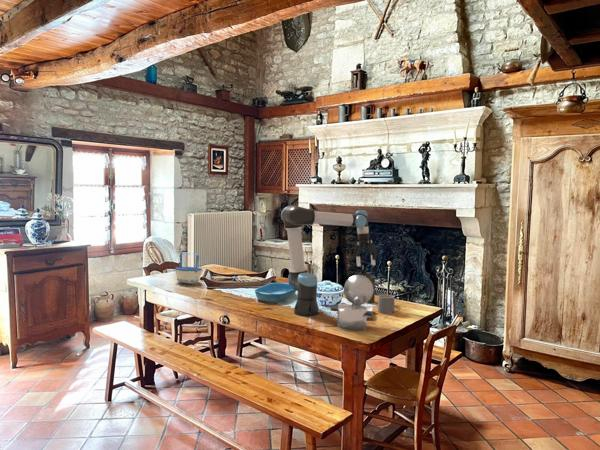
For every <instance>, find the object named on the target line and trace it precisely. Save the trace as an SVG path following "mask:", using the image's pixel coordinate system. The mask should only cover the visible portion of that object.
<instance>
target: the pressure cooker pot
mask: <svg viewBox="0 0 600 450" xmlns="http://www.w3.org/2000/svg"><path fill="white" fill-rule="evenodd" d="M363 306H364V305H362V306H359V305H352V304H350V305H341V306H339V305H338V306H336V305H333V306H332V307H330V311H332V312H337V311H338V314H336V315H337V317H336V319H337V320H336V326H337V328H338V329H341V330H345V331H349V332H350V331H351V332H353V331H354V332H358V331H364V330H365V329H367V323H368V322H367V320H368V318H367V316H372V317H373V316H374V315H375V310H372V311H367V308H365V307H363Z"/></svg>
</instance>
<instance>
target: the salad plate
mask: <svg viewBox="0 0 600 450" xmlns="http://www.w3.org/2000/svg"><path fill="white" fill-rule="evenodd" d="M341 305H351V304H347V303H346V304H345V303H339V304H338V306H341ZM361 306H363V307H365V308H367V311H373V310H374V309H373V306H369V305H363V304H362V305H361ZM336 315H338V311H336ZM372 317H373V316H367V319H371V318H372Z"/></svg>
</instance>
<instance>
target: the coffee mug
mask: <svg viewBox="0 0 600 450" xmlns="http://www.w3.org/2000/svg"><path fill="white" fill-rule="evenodd" d="M377 298H378V299H377V301H378V302H377V312H378V313H380V314H383V315H392V314H395V295H393V294H392V295H391V294H386V293H385V294H383V293H382V294H378V297H377Z"/></svg>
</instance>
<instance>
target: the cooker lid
mask: <svg viewBox="0 0 600 450" xmlns="http://www.w3.org/2000/svg"><path fill="white" fill-rule="evenodd" d="M363 275H364V274H354V275H352V276H350V277H349V278H348V279H346V281H345V283H344V286H343V294H344V297H345V298H346V300H347V301H348V302H349V303H351V305H359V306H361V305H362V306H363V305H365V304H368V303H367V302H368V301H369V300H370V299H371V297H372V295H373V285H372V283H371V281H370V280H369V279H368V278H367V277H365V276H363Z"/></svg>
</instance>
